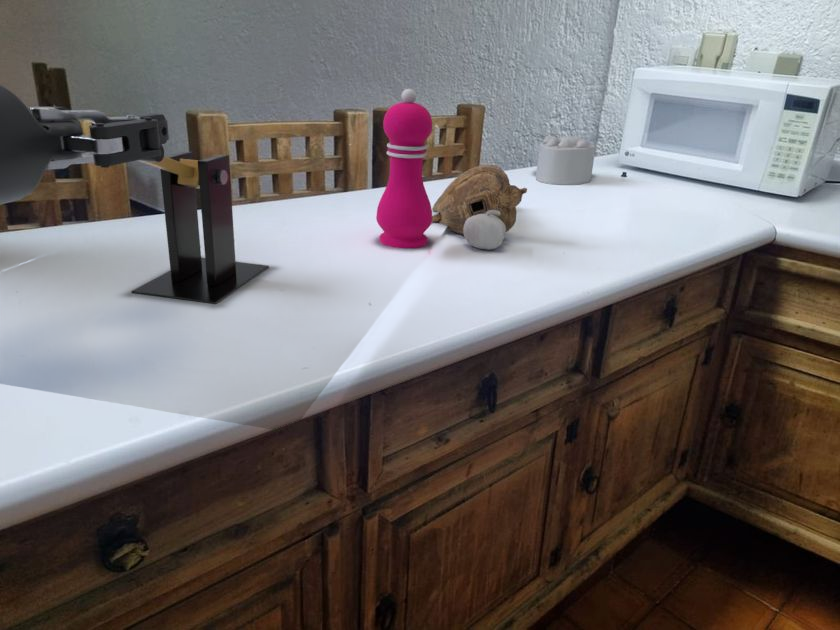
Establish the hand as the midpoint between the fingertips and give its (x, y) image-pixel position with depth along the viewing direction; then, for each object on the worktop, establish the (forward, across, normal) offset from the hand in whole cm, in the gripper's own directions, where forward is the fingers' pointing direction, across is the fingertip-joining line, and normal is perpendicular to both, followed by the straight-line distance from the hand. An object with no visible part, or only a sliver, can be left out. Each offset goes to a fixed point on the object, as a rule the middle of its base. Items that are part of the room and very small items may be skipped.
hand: (113, 124), depth 52 cm
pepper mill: (+34, -16, +18) cm, 41 cm away
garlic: (+39, -26, +18) cm, 50 cm away
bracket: (+12, 0, +18) cm, 21 cm away
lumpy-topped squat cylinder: (+97, -35, +18) cm, 104 cm away
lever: (+6, 0, +5) cm, 8 cm away
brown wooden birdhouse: (+54, -24, +18) cm, 61 cm away
